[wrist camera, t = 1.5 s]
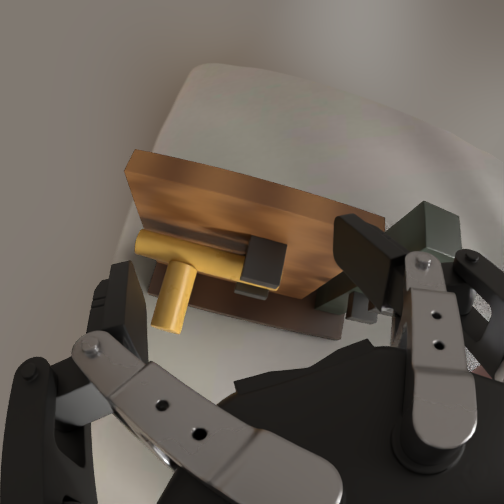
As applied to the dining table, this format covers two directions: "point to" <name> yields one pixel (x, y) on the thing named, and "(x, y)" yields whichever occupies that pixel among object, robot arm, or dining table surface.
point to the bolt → (184, 273)
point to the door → (270, 242)
